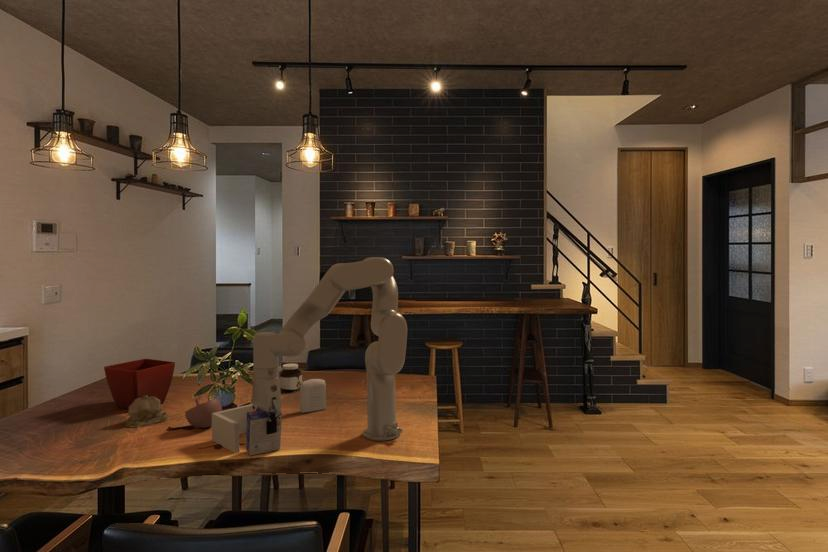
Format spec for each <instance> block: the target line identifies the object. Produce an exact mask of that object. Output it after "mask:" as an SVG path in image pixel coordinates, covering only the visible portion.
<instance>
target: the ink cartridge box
mask: <svg viewBox="0 0 828 552" xmlns="http://www.w3.org/2000/svg"><path fill="white" fill-rule="evenodd" d="M269 410H273V408H271V409H269ZM272 414H273V412H271V413H270V416H271V415H272ZM282 420H283V414H282V411H281V412H280V414H279V416H278V420H277V432H276V433H272V434H266V421H268V418H267V414H266V412H265V411H262V410H260V409H259V407H258V411H253V412H247V432H246V433H245V434H246V437H245V438H246V439H245V443H246V444H245V450H246V452H247V455H248V456H249V457H250V456H255V455H260V454H264V453H269V452H274V451H278V450H281V439H282V437H281V436H282V423H283V421H282Z"/></svg>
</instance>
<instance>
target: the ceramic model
mask: <svg viewBox="0 0 828 552" xmlns="http://www.w3.org/2000/svg"><path fill="white" fill-rule="evenodd" d="M128 408H129V409H128ZM128 408H127V409H128V410H127V411H128V415H129V418H127V419H126V420H125V422H124V423H125V424H126V427H127V426H132V427H131V428H139V427H138V426H143V427H147V426H146V425H149V426H153V425H152V424H155V425H159V424H158V423H160V424H163V423H162V422H164V423H166V422H167V420H168V412H167V411H164V412H163V409H164V408H163V405H162V403H161V401H160V400H159V399H157V398H156V397H147V395H146V396H143V398H137V399H135V401H134V402H133V403H132V404H131V405H130V406H129V407H128Z"/></svg>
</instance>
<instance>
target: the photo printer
mask: <svg viewBox="0 0 828 552" xmlns="http://www.w3.org/2000/svg"><path fill="white" fill-rule="evenodd" d="M326 384H327V383H326V381H325V380H324V379H322V378H312V379H307V380H304V381H302V383H301V385H300V389H299V390H300V395H299V396H300V398H299V400H300V404H299V405H300V406H299V407H300V409H299V410H300V413H302V414H305V412H306V413H310V412H311V413H312V412H317V411H322V410H326V409H327V405H326V404H327V402H326V401H327V389H326V388H327V385H326Z"/></svg>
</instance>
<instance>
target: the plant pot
mask: <svg viewBox="0 0 828 552" xmlns="http://www.w3.org/2000/svg"><path fill="white" fill-rule="evenodd" d="M175 365H176V362H175V361H167V360H160V359H153V358H151V359H150V358H141V359H136V360H131V361H126V362H121V363H117V364H112V365H111V364H110V365H106V366H104V367H103V371H104V374H105V379H106V382H107V385H108V387H109V391H110V394H111V396H112V398H113V401H114V402H115V405H116V407H119V408H123V409H128V407H129V406H130V405H131V404H132V403H133V402H134V401H135V399H137V398H143V396H146V395H147V397H156V398H157V399H159V400H160V401H161V404H163V403H164V402H165V400H166V399H167V395H168V392H169V390H170V387H171V383H172V381H173V377H174V372H175Z"/></svg>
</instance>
